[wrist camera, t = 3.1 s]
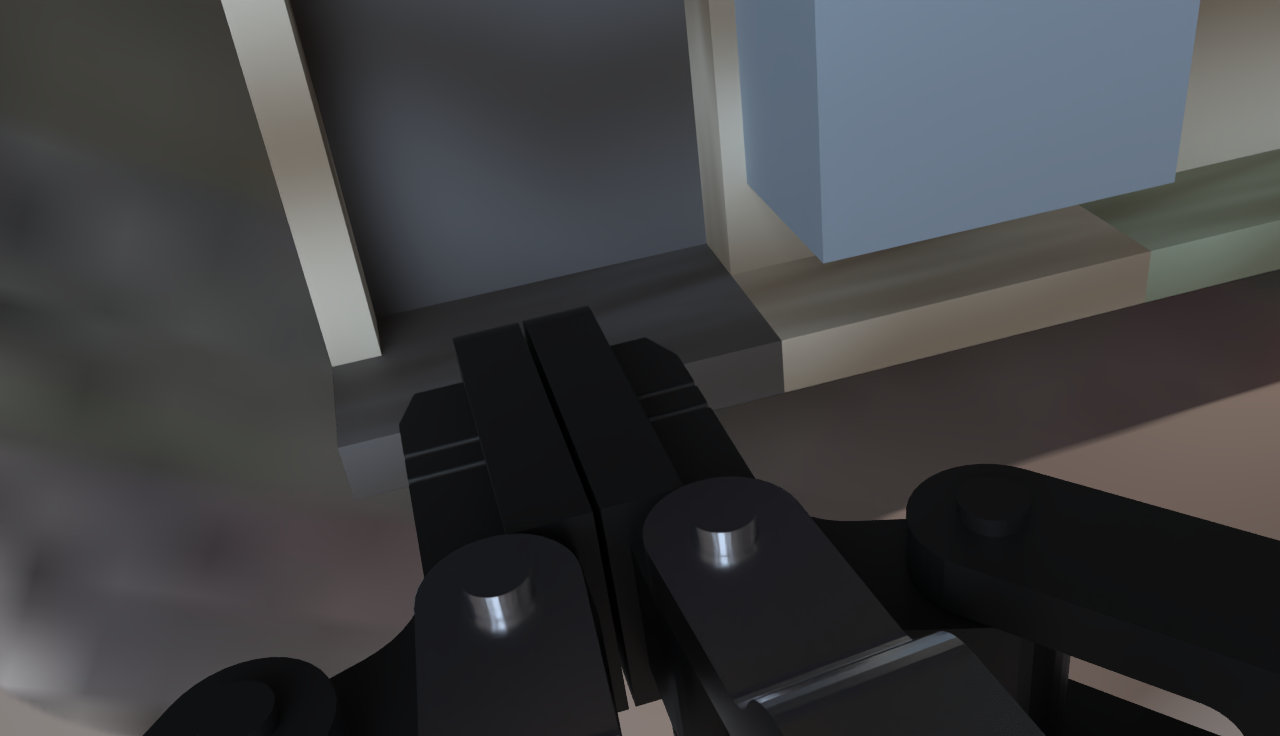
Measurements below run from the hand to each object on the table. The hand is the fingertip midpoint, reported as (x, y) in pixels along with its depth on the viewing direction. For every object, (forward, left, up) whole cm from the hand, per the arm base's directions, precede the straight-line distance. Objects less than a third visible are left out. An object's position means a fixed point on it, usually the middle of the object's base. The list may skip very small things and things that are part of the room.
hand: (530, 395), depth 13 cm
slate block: (0, +10, -10) cm, 14 cm away
